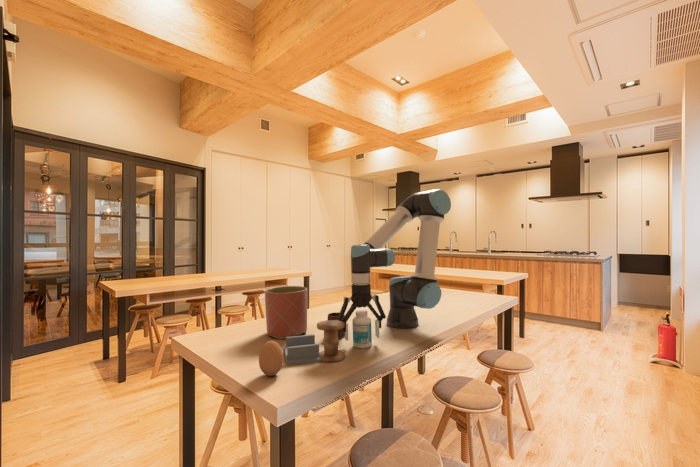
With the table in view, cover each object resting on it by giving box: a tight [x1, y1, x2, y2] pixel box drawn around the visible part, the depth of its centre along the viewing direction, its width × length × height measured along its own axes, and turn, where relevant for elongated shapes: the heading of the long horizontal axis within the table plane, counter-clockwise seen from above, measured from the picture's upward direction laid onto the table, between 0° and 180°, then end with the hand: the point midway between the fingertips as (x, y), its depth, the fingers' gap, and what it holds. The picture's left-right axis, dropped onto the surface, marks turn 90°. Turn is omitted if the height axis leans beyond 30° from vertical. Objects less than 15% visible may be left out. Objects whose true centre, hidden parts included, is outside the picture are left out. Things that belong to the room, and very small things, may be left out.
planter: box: [264, 285, 308, 340], centre depth 144 cm, size 19×19×20 cm
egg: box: [258, 340, 284, 377], centre depth 101 cm, size 8×8×11 cm
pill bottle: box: [351, 309, 373, 349], centre depth 126 cm, size 8×7×14 cm
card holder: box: [284, 333, 323, 367], centre depth 118 cm, size 12×18×5 cm, turn 14°
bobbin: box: [316, 319, 346, 364], centre depth 114 cm, size 10×10×12 cm
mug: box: [327, 312, 346, 339], centre depth 137 cm, size 12×8×9 cm, turn 23°
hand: (362, 338), depth 126 cm, fingers open, 12 cm apart
